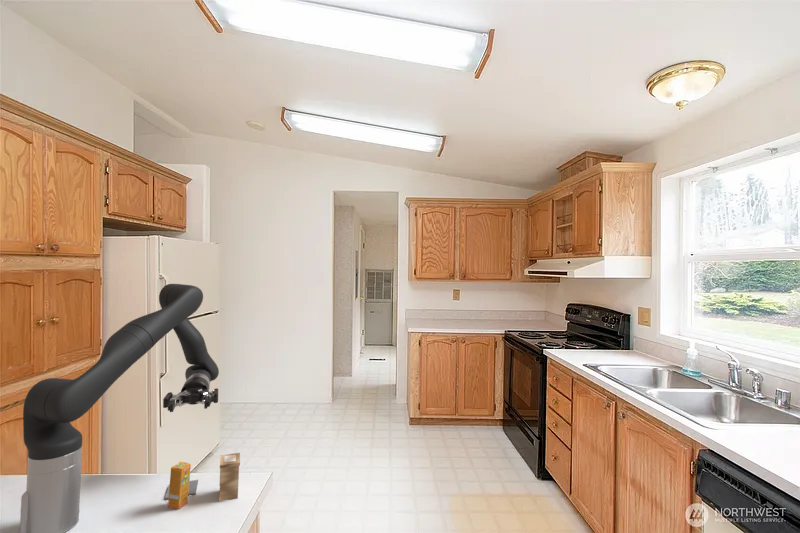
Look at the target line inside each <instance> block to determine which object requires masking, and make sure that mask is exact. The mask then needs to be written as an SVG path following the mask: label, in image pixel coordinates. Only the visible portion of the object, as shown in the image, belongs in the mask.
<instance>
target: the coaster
mask: <svg viewBox="0 0 800 533" xmlns="http://www.w3.org/2000/svg"><path fill="white" fill-rule="evenodd" d="M198 485H199V479H194V480H189V492H188V497H190V496H189V495H192V496H196V495H197V489H198ZM169 487H170V483H169V484H168V487H167V490H166V494H165V498H164V500H165V501H168V500H169Z"/></svg>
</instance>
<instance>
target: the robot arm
mask: <svg viewBox="0 0 800 533" xmlns="http://www.w3.org/2000/svg"><path fill="white" fill-rule="evenodd" d="M203 300H204V293H203V290H201V288H199V287H198V286H195V285H192V284H181V283H169V284H165V285H164V286H163V287H162V288H161V290H160V292H159V295H158V301H159V305H160V308H161V309H159V310H156V311H153V312H149V313H147V314H145V315H142V316H139V317H137V318H135V319H133V320H131V321H128V322H127V323H126V324H124V325H123V326H122V327H121V328H119V329H118V330H117V331H116V332H114V333H113V334H112V335H111V336H110V337H109V338H108V339H107V341H106V342H105V344H104V346H103V349H102V353H101V355H100V356H99V359H98V361H97V362H95V363H94V365H93V366H91V367H89V369H88V370H86V371H84V373H82V374H81V375H79V376H78V377H76V378H74V379H69V378H58V377H57V378H56V377H52V378H51V377H50V378H46V379H41V380H40V381H38V382H36V383H35V384H34V385H33V386H32V387H31V388H30V389H29V391H28V392H27V394H26V395H25V399H24V401H23V402H24V403H23V410H22V422H23V424H22V427H23V431H22V432H23V435H22V436H23V443H24V445H25V448H26V449H27V472H26V488H25V489H26V490H25V491H24V492H23V494H21V499H20V502H21V503H20V520H19V521H20V523H19V533H66V532H67V531H70V530H71V529H72V528H74V527H75V526H76V525H77V524H78V522H79V520H80V519H79V518H80V503H81V502H80V500H81V499H80V498H81V482H82V481H81V480H82V460H83V459H82V457H83V434H82V432H81V431H80V430H78V429H77V428H75V427H74V426H73V425H72V424H71V423H72V422H75V421H76V420H78V419H80V418H81V417H83V416H84V415H85V414H86V413H87V412H89V411H90V409H91V408H92V407H93V406H94V405H95V404H96V403H97V402H98V401H99V400H100V399H101V398H102V396H103V395H104V394H105V393H106V392H107V391H108V390H109V389H110V388H111V387H112V385H113V384H114V383H115V382H116V381H117V380H118V379H119V378H120V377H122V375H124V374H125V373H126V372H127V371H128V370H129V369H130V368H131V367H132V366H133V365H134V364H135V363H137V361H138V360H140V359H141V358H142V357H144V356H145V354H147V353H148V352H149V351H150V350H151V349H152V348H153V347H155V345H156V344H158V342H159V341H161V340H162V339H163V338H164V337H165V336H166V335H167V334H168V333H170V331H172V330H173V331H174V333H175V334H176V337H177V338H178V340H179V343H180V346H181V348H182V352H183V355H184V358H185V361H186V363H187V364H189V366H188V367H187V368H186V370H185V374H184V375H185V382H184V384H183V386H182V387H181V391H180V392H178V393H177V394H174V393H173V392H167V394H166V395H164V397H163V399H162V408H164V409H167V411H169V413H174V410H175V408H177V407H182V406H184V405H190V406H191V405H195V406H196V405H198V404H201V405H203V409H205V410H206V409H208V408H209V407H211V404H212V403H214V404H217V403H219V388H218V387H217V388H214V389H212V391H210V388H211V386H210V385H211V382H212V381H213V382H214V381H215V380H216V379H217V378H218V376H219V374H220V373H219V367H218V365H217V363H216V362H215V360H214V359H213V358H212V357H211V355H210V354H209V352H208V349H207V348H208V347H207V345H206V342H205V339H204V336H203V335H202V334H201V332H200V331H199V329H198V328H197V327H195V325H194V324H193V323H192V322H191V321H190V319H189V317H190V316H192V315H193V314H195V313H196V312H197V311H198V310H199V308H200V307H201V305H202V303H203Z"/></svg>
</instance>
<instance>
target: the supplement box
mask: <svg viewBox="0 0 800 533" xmlns="http://www.w3.org/2000/svg"><path fill="white" fill-rule="evenodd" d="M191 465H192V464H191V463H190V462H184V461H179V462H178V463H177V464H175V465H173V466H171V467H170V475H169V484H170V487H169V486H168V487H169V500H167V502H168V504H167V507H168V508H170V509H175V510H180V509H182V507H183V506H185V505H186V504H187V503H189V501H188V500H189V496H188V492H189V481H191V480H190V479H191V467H192V466H191Z"/></svg>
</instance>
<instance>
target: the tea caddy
mask: <svg viewBox="0 0 800 533" xmlns="http://www.w3.org/2000/svg"><path fill="white" fill-rule="evenodd" d="M219 457H220V459H219V469H220V470H219V496H218V497H219V498H218V499H219V500H218V502H224V501H229V500H235V499H238V498H239V478H240V476H239V474H240V466H241V453H240V452H235V453H228V454H222V455H220V456H219Z"/></svg>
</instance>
